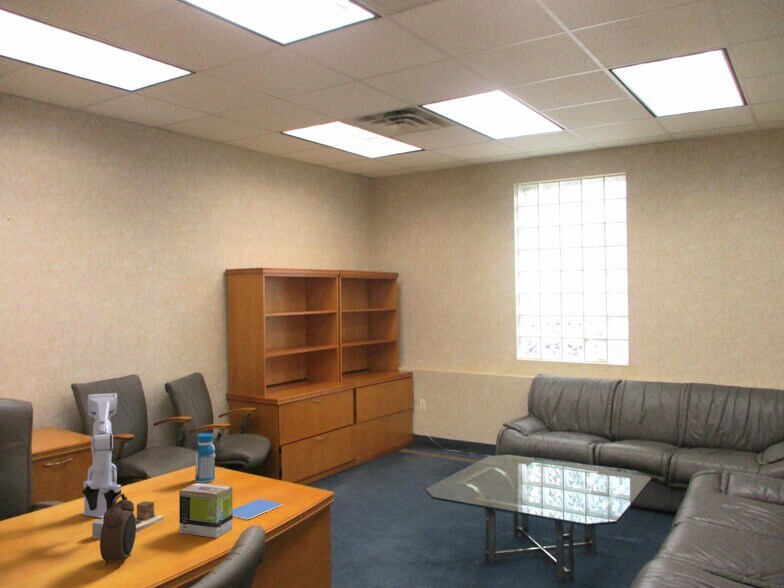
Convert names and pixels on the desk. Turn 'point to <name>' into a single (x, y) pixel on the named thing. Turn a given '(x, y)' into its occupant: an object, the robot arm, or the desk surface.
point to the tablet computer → (254, 509)
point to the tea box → (205, 510)
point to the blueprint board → (147, 522)
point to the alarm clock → (118, 531)
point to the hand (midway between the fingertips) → (101, 511)
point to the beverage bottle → (205, 458)
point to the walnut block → (145, 510)
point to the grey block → (97, 528)
